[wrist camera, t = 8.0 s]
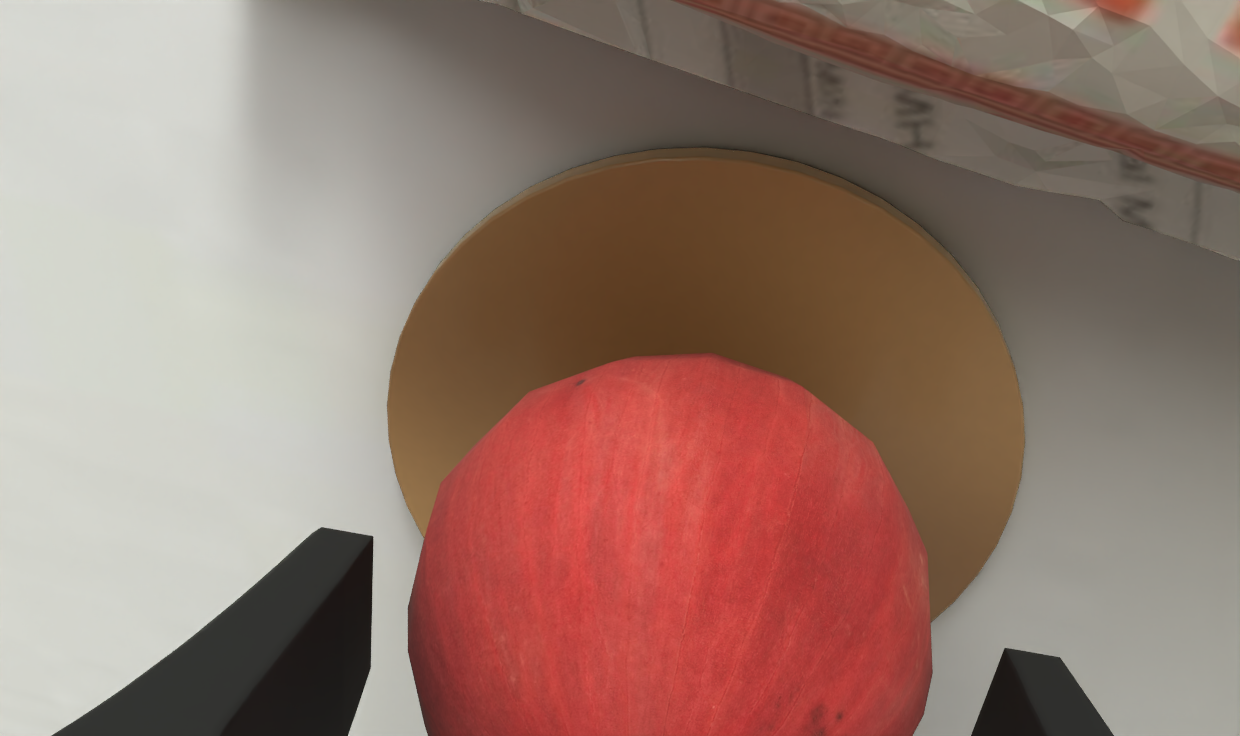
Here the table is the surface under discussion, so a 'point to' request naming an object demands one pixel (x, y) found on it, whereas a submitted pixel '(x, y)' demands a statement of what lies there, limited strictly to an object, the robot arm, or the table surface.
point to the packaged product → (985, 86)
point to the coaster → (724, 325)
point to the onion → (671, 566)
